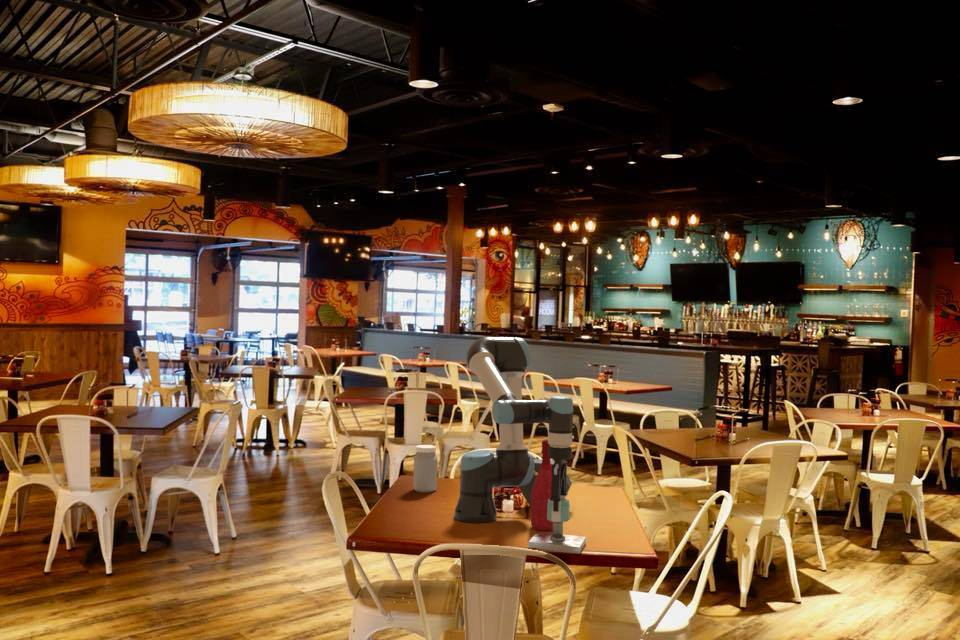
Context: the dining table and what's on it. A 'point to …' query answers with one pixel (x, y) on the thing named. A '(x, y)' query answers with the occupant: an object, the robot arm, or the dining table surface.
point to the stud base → (557, 540)
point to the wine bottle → (542, 493)
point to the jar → (425, 469)
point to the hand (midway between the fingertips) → (558, 518)
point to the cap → (564, 510)
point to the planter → (528, 488)
